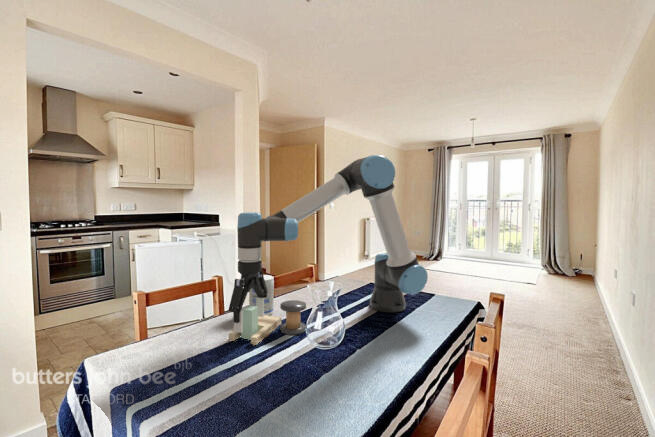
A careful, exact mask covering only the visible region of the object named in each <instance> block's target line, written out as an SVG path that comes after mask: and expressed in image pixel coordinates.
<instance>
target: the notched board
mask: <svg viewBox="0 0 655 437" xmlns="http://www.w3.org/2000/svg"><path fill="white" fill-rule="evenodd" d="M279 325H280V326H281V325H282V317H281V316H275V315H269V316H268V315H264V317H259V316H258V332H257V333H255V334H254V335H253V336H252V337H251V341H250V345H251V344H253V345H252V346H255V345H257V344H258V343H259V342H260V343H261V342H263V341H264V340H265V339H266V338H267V337H268V336H270V333H271V332H272V331H273V332H274V331H275V330H276V329H278V326H279ZM280 326H279V327H280ZM273 332H272V333H273ZM272 333H271V334H272ZM240 336H241V333H239V332H234V329H233V330H232V331H231V332H229V333H228V341H229V340H232V341H235V340H236V339H237V338H239V337H240ZM265 337H266V338H265ZM240 338H241V337H240ZM240 338H239V339H240ZM264 338H265V339H264ZM263 339H264V340H263ZM262 340H263V341H262ZM236 341H237V340H236ZM236 341H235V342H236ZM260 343H259V344H260ZM259 344H258V345H259ZM258 345H257V346H258Z"/></svg>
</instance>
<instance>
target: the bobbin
mask: <svg viewBox="0 0 655 437" xmlns="http://www.w3.org/2000/svg"><path fill="white" fill-rule="evenodd" d="M279 306H280V310H282V311H284V312H285V322H284V323H281V325H280V326H279V327H280V329H279V331H280V330H281V331H280V332H281V333H282V334H284V335H287V336H297V334H298V335H301V334H303V333H305V332H306V331H305V329H306V330H307V325H306V324H305V323H303V322H302V321H301V312H302V311H304V310H306V309H307V303H306V302H305V301H303V300H298V299H297V300H295V299H293V300H292V299H291V300H286V301H283V302H281V303H280V305H279Z"/></svg>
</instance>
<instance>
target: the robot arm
mask: <svg viewBox="0 0 655 437" xmlns="http://www.w3.org/2000/svg"><path fill="white" fill-rule="evenodd" d="M395 177H396V168H395V165H394V163H393V162H392V160H391V159H390V158H388V157H387V156H384V155H381V154H380V155H379V154H371V155H368V156H366V157H362V158H358V159H356V160H354V161H353V162H350V163H349V164H348V165H347V166H345V167H344V168H342V169H341V170H340V171H338V172H336V173H335V174H334V177H333V178H332V179H330V180H329V181H327V182H325V183H323V184H322V185H320V186H318V187H317V188H315V189H314V190H311V191H310V192H309V193H307V194H305V195H304V196H302V197H300V198H298V199H297V200H296V201H294V202H292V203H290V204H289V205H288V206H286V207H284V208H282V209H281V210H278V211H277V212H276V213H274V214H271V215H269V216H267V217H266V218H264V217H262V214H261V212H250V211H249V212H241V213H239V214H238V216H237V260H238V261H237V272H238V273H240V278H235V279H234V282H233V283H234V286H233V291H232V295H231V298H230V303H229V305H228V306H229V307H228V312H231V313H233V317H232V318H233V320H232V321H233V330H234V332H239V333H242V332H243V311H241V309H242V308H244V304H245V300H246V298H247V296H248V294H249V291H250V289H252V288H253V289H254V291H255V293H256V294H257V296H258V297H257V298H256V306H257V307H258V316H259V317H264V297H265V298H266V297H267V293H268V291H267V287H266V284H265V280H264V277H263V275H264V270H262V260H261V259H262V258H263V257H262V242H289V241H291V242H292V241H296V240H297V238H298V237H299V223H300V222H303V220H305V219H306V218H308V217H310V216H311V215H313V214H315V213H316V212H318V211H319V210H321V209H322V208H324V207H327V205H329V204H331V203H333V202H334V201H335V200H337V199H339V198H340V197H342V196H344V195H346V196H349V195H350V194H351V193H353V192H356V191H358V190H361V193H362V195H363V198H364V199H366V200H368V201H369V203H370V206H371V210H372V211H373V212H372V213H373V215H374V218H375V220H376V224H377V228H378V230H379V233H380V236H381V237H380V238H382V239H381V240H382V242H383V245H384V247H385V251H386V252H385V253H377V254H376V255H375V258H374V288H373V291H372V294H371V296H370V299H369V307H370V308H372V309H373V310H375V311H378V312H383V313H400V312H403V311H405V310H406V307H407V306H406V305H407V304H406V298H405V296H404V294H407V295H411V296H413V295H417V294H419V293H420V292H422V291H423V290H424V289H425V287H426V284H427V283H428V279H429V276H428V272H427V270H426V268H425V267H424V266H423V265H421V264H419V261H418V258H417V255H416V253H414V252H412V251H411V250H410V249H411V248H410V247H409V244H408V240H407V237H406V234H405V231H404V227H403V223H402V221H401V218H400V214H399V211H398V209H397V205H396V202H395V198H394V195H393V191H394V189H395V185H394V181H395Z"/></svg>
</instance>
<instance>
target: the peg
mask: <svg viewBox="0 0 655 437" xmlns="http://www.w3.org/2000/svg"><path fill="white" fill-rule="evenodd" d="M241 311H243V332H242V333H241V337H240V339H241V338H244V339H248V340H247V341H249V340H251V337H252V336H253V335H254V334H255V333H257V332H258V307H257V306H249V304H248V305H246V306H243V307H242V309H241Z"/></svg>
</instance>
